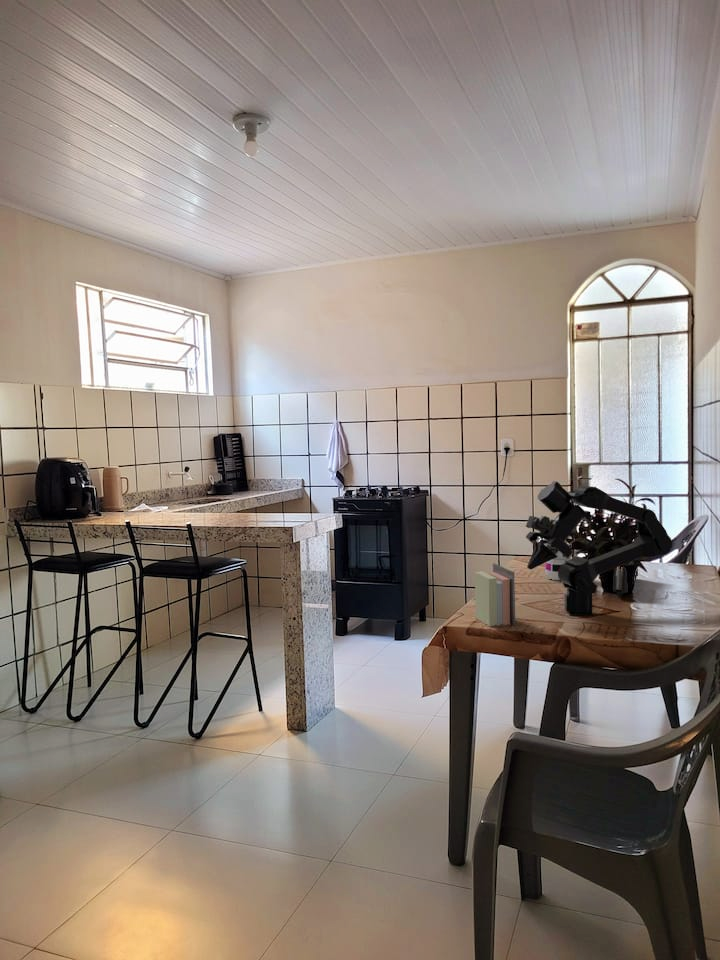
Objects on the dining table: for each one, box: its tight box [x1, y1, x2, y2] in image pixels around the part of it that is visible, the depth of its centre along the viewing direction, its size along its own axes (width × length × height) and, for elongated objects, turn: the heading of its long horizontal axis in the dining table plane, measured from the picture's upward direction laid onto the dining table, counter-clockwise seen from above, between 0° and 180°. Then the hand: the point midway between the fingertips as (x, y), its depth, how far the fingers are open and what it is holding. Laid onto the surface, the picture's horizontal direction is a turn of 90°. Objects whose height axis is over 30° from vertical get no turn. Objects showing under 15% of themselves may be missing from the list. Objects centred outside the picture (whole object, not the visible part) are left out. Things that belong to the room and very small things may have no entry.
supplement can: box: [545, 537, 572, 581], centre depth 235 cm, size 8×8×15 cm
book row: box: [474, 571, 511, 627], centre depth 186 cm, size 6×9×12 cm, turn 14°
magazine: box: [612, 566, 639, 598], centre depth 219 cm, size 17×3×30 cm
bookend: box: [492, 563, 516, 627], centre depth 187 cm, size 1×12×14 cm, turn 14°
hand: (528, 568), depth 189 cm, fingers closed
